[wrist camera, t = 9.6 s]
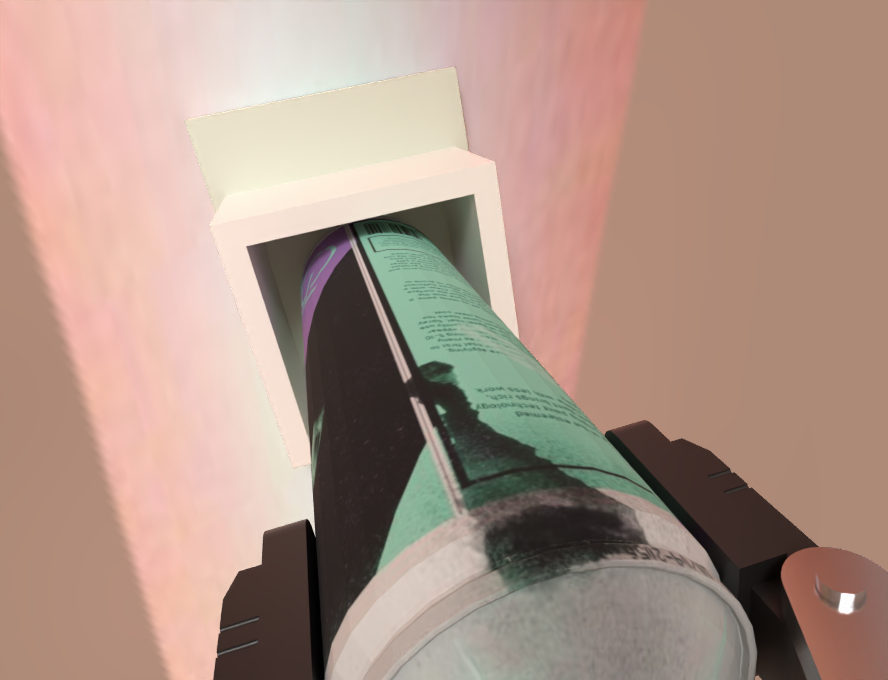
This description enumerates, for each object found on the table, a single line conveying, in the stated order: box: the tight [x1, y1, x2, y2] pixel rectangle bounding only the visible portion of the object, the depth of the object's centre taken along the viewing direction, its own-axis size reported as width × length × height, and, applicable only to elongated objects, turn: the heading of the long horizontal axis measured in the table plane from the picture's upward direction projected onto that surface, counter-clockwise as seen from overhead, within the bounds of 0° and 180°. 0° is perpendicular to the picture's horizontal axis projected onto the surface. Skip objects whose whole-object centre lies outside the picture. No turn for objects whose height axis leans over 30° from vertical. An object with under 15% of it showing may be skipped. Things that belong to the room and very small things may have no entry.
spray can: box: [300, 215, 757, 680], centre depth 14 cm, size 6×6×20 cm
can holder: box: [185, 67, 519, 468], centre depth 23 cm, size 14×10×6 cm
